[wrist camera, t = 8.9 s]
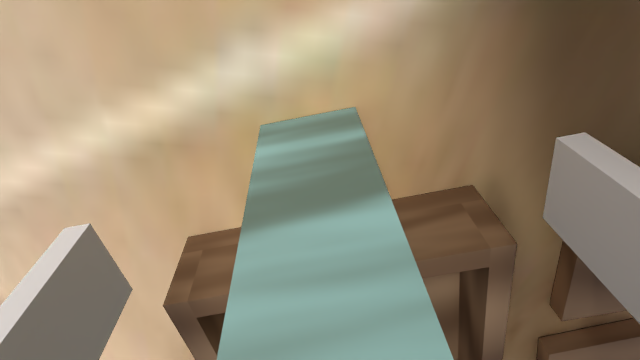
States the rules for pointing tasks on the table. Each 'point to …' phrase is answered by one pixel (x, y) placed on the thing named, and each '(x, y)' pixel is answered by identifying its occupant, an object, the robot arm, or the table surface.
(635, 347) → the strip
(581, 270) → the grey tall block
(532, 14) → the table surface
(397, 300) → the open wooden tray
